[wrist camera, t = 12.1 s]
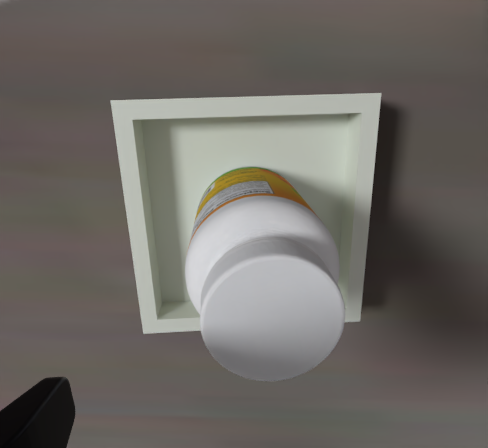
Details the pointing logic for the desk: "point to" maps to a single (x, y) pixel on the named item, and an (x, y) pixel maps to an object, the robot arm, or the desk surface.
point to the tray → (233, 156)
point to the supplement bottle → (263, 277)
